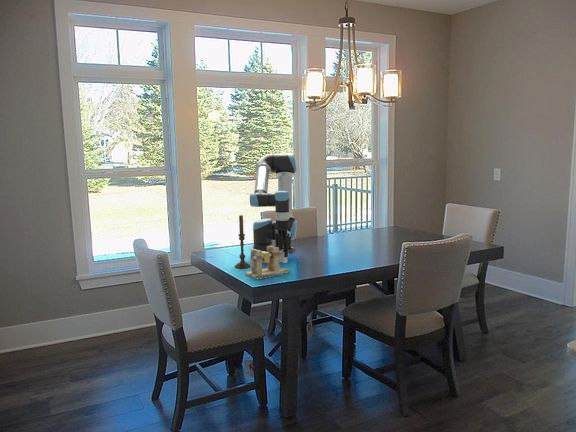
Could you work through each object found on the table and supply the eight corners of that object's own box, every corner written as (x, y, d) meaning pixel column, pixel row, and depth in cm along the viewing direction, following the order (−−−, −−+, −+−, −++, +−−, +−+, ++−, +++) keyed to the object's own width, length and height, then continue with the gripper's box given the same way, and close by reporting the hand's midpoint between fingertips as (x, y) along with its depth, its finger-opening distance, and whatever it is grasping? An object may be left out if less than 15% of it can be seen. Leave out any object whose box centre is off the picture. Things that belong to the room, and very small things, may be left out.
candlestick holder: (232, 268, 264) (230, 215, 259) (237, 264, 273) (235, 213, 268) (248, 268, 262) (247, 215, 258) (252, 264, 271) (250, 213, 267)
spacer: (259, 261, 250) (259, 251, 250) (263, 260, 252) (263, 251, 252) (264, 262, 247) (264, 253, 246) (269, 261, 249) (269, 252, 248)
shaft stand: (245, 274, 250) (244, 249, 248) (275, 268, 262) (274, 243, 260) (258, 279, 241) (258, 252, 239) (289, 272, 253) (288, 246, 251)
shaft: (252, 260, 247) (252, 253, 246) (290, 253, 263) (290, 246, 263) (256, 262, 244) (256, 254, 243) (295, 254, 260) (295, 247, 260)
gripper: (268, 218, 258) (269, 260, 261) (286, 222, 246) (286, 265, 250) (279, 217, 263) (280, 258, 266) (297, 220, 251) (297, 263, 254)
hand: (283, 262), depth 258 cm, fingers closed on shaft, 2 cm apart
